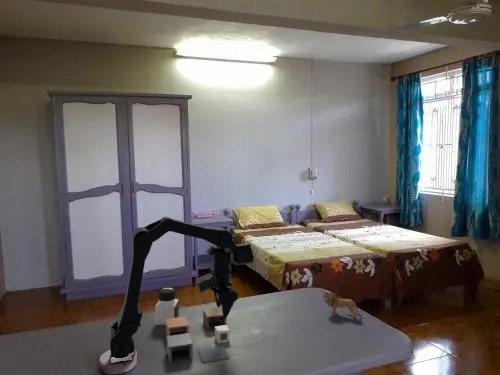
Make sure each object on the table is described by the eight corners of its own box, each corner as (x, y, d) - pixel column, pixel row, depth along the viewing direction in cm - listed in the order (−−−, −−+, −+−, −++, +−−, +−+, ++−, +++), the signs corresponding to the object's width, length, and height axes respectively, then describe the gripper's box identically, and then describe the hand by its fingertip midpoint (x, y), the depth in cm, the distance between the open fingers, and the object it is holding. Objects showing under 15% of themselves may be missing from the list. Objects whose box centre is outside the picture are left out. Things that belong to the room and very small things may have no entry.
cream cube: (217, 343, 129) (217, 331, 129) (215, 337, 133) (214, 326, 133) (229, 341, 131) (229, 330, 130) (226, 336, 135) (226, 324, 134)
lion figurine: (321, 315, 151) (322, 292, 150) (323, 310, 156) (323, 288, 155) (361, 320, 147) (362, 297, 146) (361, 314, 152) (362, 292, 151)
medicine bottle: (174, 325, 142) (174, 293, 141) (155, 325, 143) (154, 293, 142) (178, 317, 150) (178, 286, 148) (160, 316, 150) (159, 286, 149)
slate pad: (202, 362, 117) (202, 361, 117) (198, 351, 124) (198, 350, 124) (228, 358, 120) (228, 357, 120) (223, 347, 126) (223, 346, 126)
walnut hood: (207, 330, 138) (206, 316, 138) (203, 322, 145) (203, 309, 145) (226, 327, 141) (226, 314, 140) (221, 319, 147) (221, 306, 147)
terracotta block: (168, 342, 130) (167, 327, 130) (165, 332, 137) (165, 318, 136) (189, 339, 132) (189, 324, 132) (186, 330, 139) (185, 316, 138)
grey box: (169, 362, 117) (169, 346, 117) (166, 351, 124) (166, 336, 124) (192, 359, 120) (192, 343, 119) (189, 348, 126) (188, 333, 126)
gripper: (192, 260, 136) (192, 304, 137) (202, 277, 118) (203, 327, 120) (223, 258, 139) (223, 300, 141) (238, 273, 122) (238, 322, 123)
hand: (221, 312), depth 131 cm, fingers open, 9 cm apart
